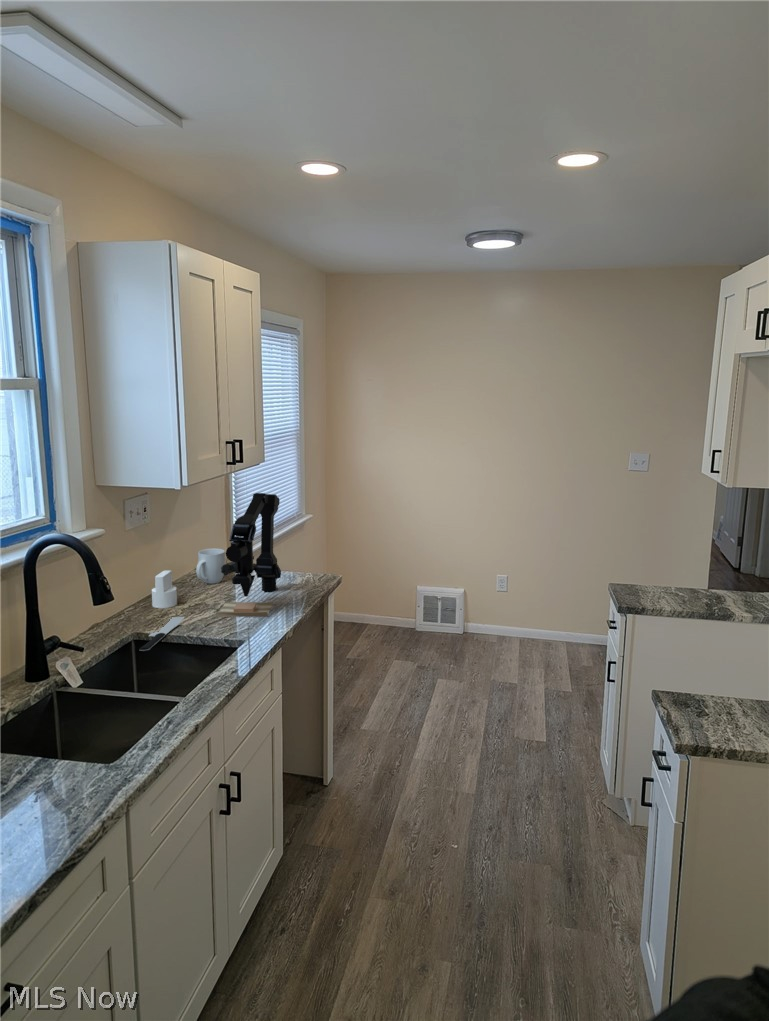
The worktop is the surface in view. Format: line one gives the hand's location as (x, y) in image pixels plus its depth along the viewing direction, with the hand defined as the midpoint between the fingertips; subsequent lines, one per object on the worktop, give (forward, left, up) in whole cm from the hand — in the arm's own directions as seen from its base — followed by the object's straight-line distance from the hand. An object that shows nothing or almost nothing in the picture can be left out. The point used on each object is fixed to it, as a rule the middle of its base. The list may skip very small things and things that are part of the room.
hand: (246, 596), depth 251 cm
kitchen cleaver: (+23, -25, -6) cm, 35 cm away
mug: (-36, -21, -6) cm, 42 cm away
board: (+1, 0, -6) cm, 6 cm away
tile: (-1, 0, -4) cm, 4 cm away
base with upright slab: (-7, -32, -6) cm, 33 cm away
